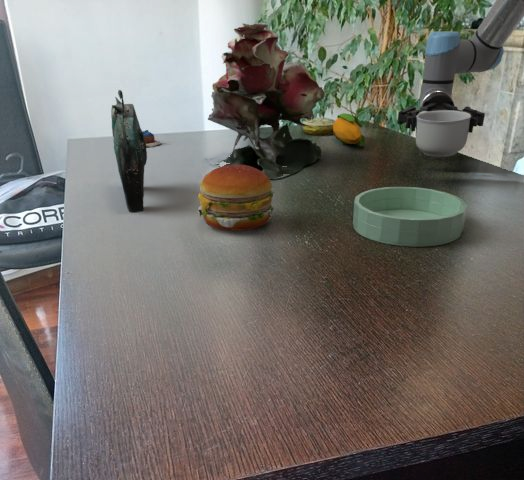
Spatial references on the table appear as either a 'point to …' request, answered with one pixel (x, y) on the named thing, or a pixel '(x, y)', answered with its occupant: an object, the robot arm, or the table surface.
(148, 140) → the dessert
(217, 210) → the burger
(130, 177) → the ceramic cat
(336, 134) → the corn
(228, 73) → the rose bouquet
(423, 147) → the teacup
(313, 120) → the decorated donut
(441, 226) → the bowl
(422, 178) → the table surface
